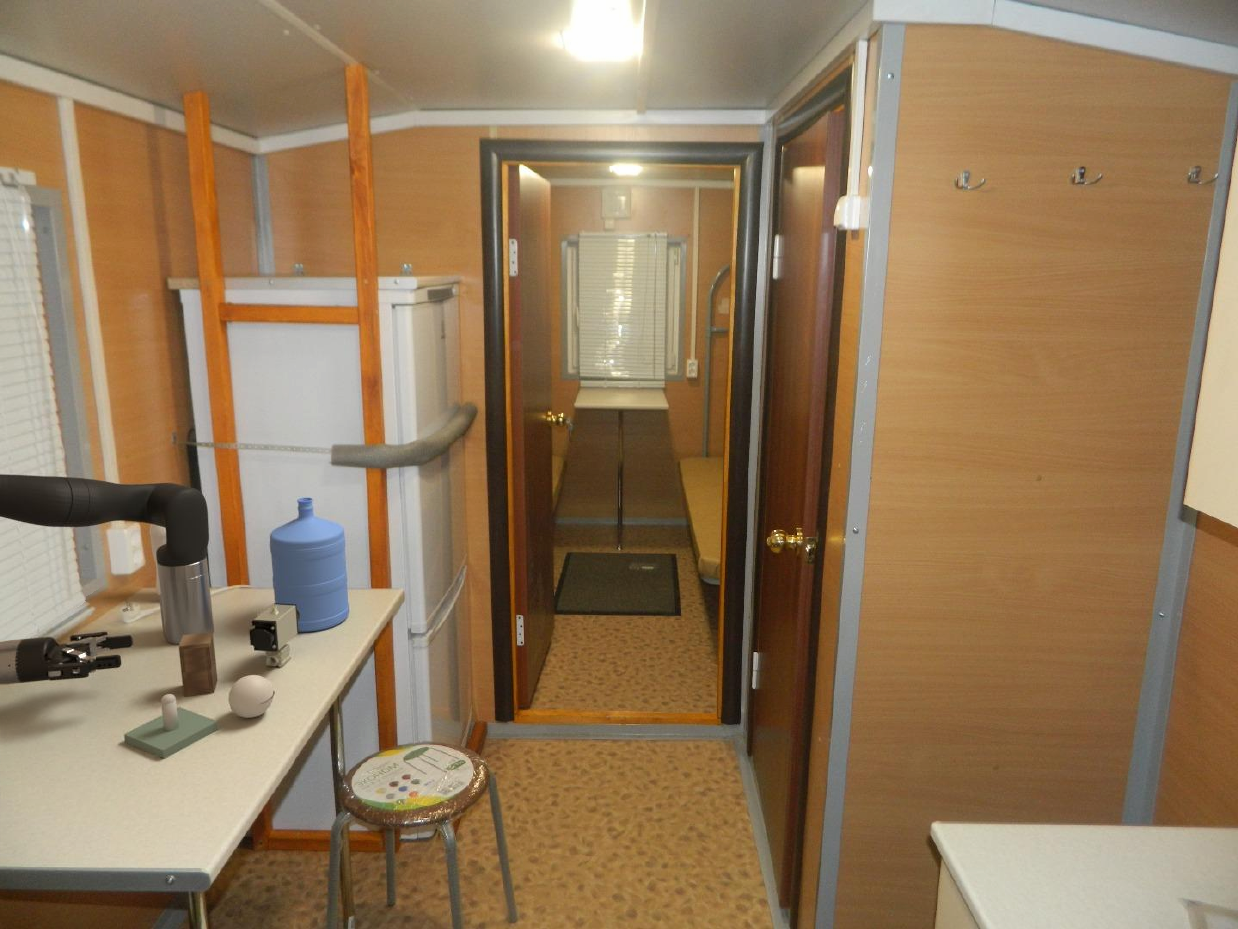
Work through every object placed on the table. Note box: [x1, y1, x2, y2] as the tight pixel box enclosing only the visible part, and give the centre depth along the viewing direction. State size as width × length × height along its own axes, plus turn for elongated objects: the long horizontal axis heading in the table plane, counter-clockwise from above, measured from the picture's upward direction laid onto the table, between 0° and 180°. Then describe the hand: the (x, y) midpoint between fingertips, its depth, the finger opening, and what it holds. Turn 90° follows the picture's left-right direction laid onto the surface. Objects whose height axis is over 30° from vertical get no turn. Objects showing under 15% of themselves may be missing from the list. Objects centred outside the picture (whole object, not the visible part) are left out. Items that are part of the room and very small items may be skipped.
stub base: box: [123, 693, 219, 759], centre depth 139 cm, size 10×10×8 cm
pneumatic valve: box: [249, 602, 300, 668], centre depth 164 cm, size 6×12×12 cm, turn 174°
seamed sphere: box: [227, 674, 275, 719], centre depth 147 cm, size 10×7×7 cm
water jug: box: [269, 497, 350, 633], centre depth 183 cm, size 16×16×28 cm
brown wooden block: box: [178, 632, 219, 697], centre depth 154 cm, size 5×5×10 cm
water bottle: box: [148, 524, 166, 596], centre depth 194 cm, size 7×7×25 cm
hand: (126, 650), depth 149 cm, fingers open, 8 cm apart
